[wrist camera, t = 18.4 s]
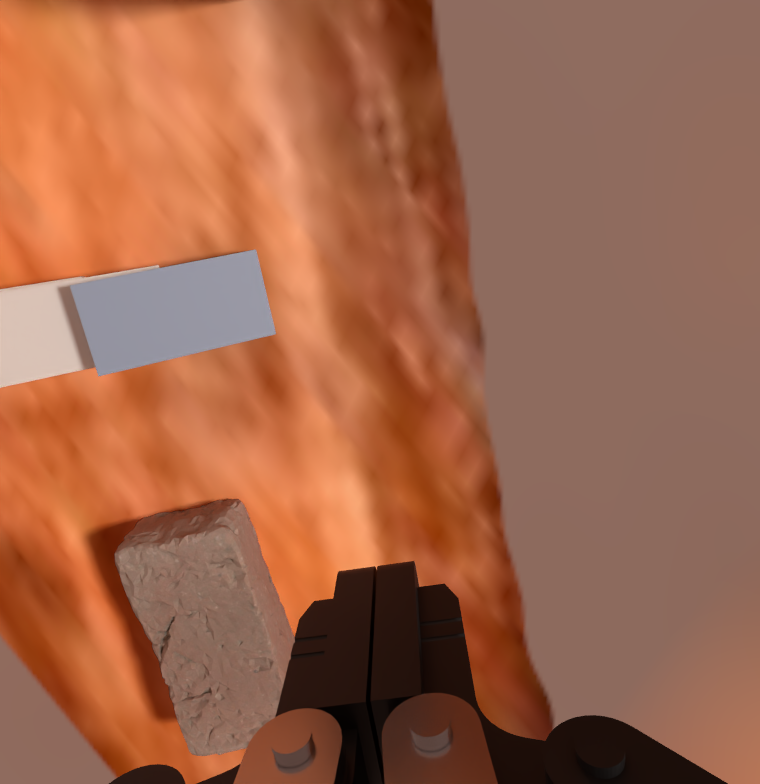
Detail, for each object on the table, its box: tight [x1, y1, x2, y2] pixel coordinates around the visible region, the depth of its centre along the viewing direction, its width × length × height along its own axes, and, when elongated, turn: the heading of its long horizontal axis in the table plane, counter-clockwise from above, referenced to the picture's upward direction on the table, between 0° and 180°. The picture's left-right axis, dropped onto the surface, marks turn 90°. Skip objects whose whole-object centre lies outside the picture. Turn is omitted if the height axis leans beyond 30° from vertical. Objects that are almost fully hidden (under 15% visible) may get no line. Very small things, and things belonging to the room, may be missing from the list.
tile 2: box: [0, 265, 159, 388], centre depth 35 cm, size 5×2×10 cm
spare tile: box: [70, 250, 276, 376], centre depth 35 cm, size 5×2×10 cm
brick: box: [115, 499, 295, 756], centre depth 41 cm, size 17×8×5 cm, turn 16°
